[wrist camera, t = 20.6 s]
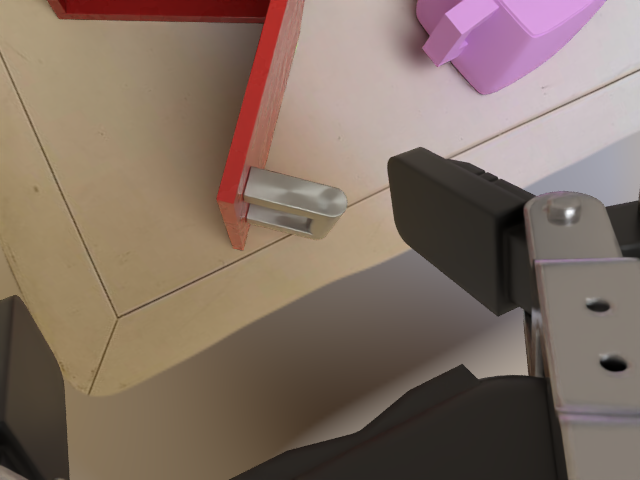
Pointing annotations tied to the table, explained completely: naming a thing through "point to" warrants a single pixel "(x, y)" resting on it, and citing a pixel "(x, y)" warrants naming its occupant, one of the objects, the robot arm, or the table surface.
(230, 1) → the red cabinet
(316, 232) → the door
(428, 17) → the teapot
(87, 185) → the table surface
